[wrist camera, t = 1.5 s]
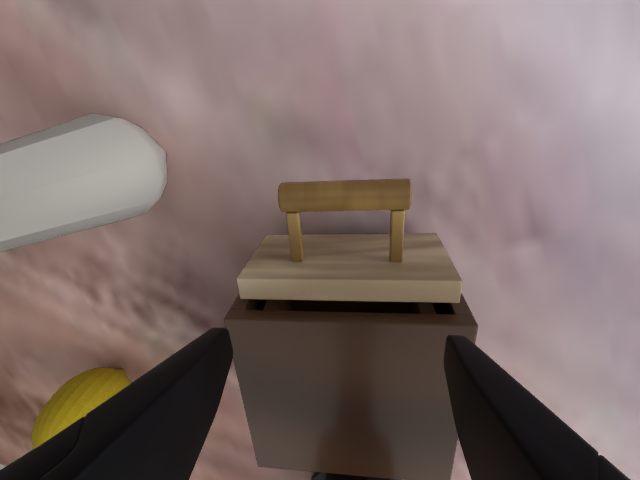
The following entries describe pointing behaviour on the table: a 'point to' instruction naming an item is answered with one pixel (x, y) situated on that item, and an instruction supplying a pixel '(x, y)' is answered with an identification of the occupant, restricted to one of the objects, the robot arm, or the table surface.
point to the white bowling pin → (77, 178)
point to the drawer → (350, 256)
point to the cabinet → (348, 388)
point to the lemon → (77, 401)
